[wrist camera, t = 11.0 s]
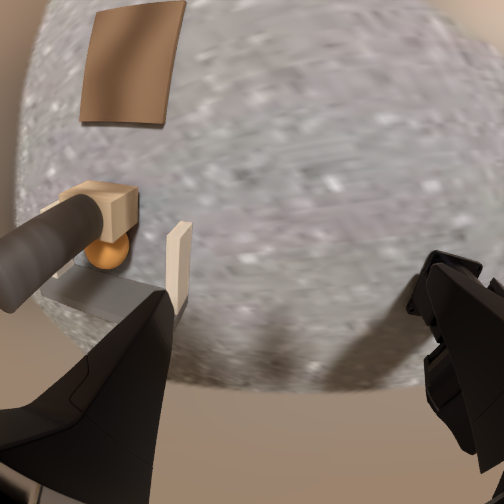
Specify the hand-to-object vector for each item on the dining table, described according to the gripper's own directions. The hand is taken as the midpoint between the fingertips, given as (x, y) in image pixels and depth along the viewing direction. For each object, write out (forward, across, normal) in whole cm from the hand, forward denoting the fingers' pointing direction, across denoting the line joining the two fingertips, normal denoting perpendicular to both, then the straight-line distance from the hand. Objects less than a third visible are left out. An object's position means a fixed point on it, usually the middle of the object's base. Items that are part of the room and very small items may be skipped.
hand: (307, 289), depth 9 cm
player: (+14, +13, +1) cm, 19 cm away
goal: (+14, +15, +6) cm, 21 cm away
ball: (+12, +14, +4) cm, 19 cm away
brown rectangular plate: (+15, +10, -10) cm, 21 cm away
